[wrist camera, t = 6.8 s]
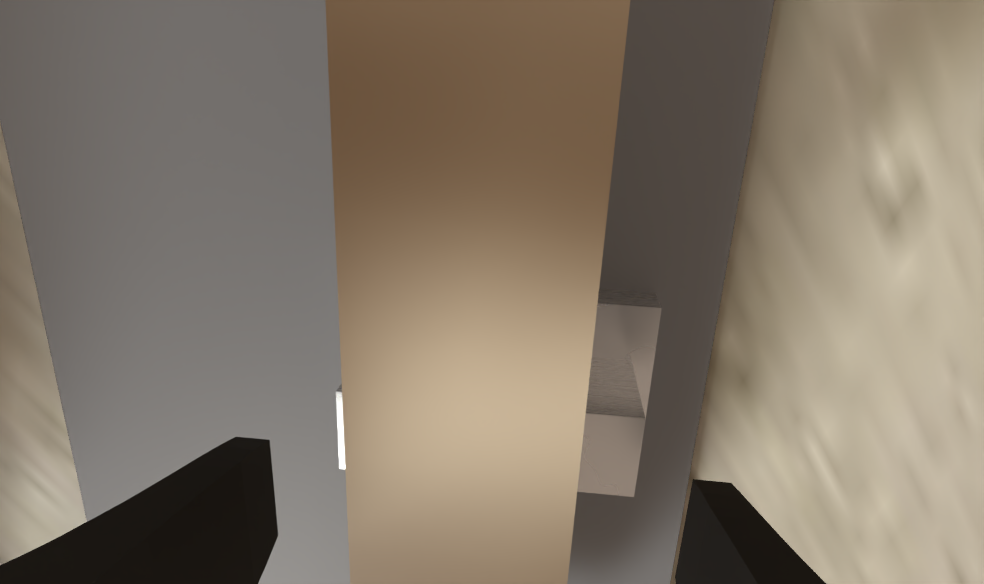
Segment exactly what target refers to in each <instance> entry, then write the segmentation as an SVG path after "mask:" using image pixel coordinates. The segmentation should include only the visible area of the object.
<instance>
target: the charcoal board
mask: <svg viewBox="0 0 984 584" xmlns="http://www.w3.org/2000/svg"><path fill="white" fill-rule="evenodd" d="M773 5H774V0H630V8H629V17H628V26H627V36H626V45H625V54H624V63H623V73H622V82H621V91H620V100H619V110H618V119H617V128H616V137H615V147H614V156H613V165H612V174H611V183H610V193H609V202H608V211H607V220H606V230H605V239H604V248H603V257H602V267H601V276H600V285H599V288H600V289H614V290H628V291H641V292H655V293H656V296H657V298H658V301H659V303H660V305H661V308H662V309H661V316H660V323H659V330H658V337H657V344H656V351H655V358H654V364H653V371H652V378H651V385H650V392H649V399H648V406H647V413H646V420H645V426H644V433H643V440H642V447H641V454H640V461H639V468H638V475H637V480H636V487H635V494H634V497H628V496H617V495H607V494H597V493H586V492H577V498H576V507H575V516H574V526H573V535H572V544H571V553H570V563H569V572H568V581H567V584H670V581H671V575H672V570H673V564H674V558H675V553H676V547H677V542H678V536H679V530H680V525H681V519H682V514H683V508H684V503H685V497H686V491H687V486H688V480H689V475H690V469H691V463H692V458H693V452H694V447H695V441H696V435H697V430H698V424H699V419H700V413H701V408H702V402H703V396H704V391H705V385H706V380H707V374H708V368H709V363H710V357H711V352H712V346H713V340H714V335H715V329H716V324H717V318H718V313H719V307H720V301H721V296H722V290H723V285H724V279H725V273H726V268H727V262H728V257H729V251H730V245H731V240H732V234H733V229H734V223H735V218H736V212H737V206H738V201H739V195H740V190H741V184H742V178H743V173H744V167H745V162H746V156H747V150H748V145H749V139H750V134H751V128H752V123H753V117H754V111H755V106H756V100H757V95H758V89H759V83H760V78H761V72H762V67H763V61H764V55H765V50H766V44H767V39H768V33H769V28H770V22H771V16H772V11H773ZM0 122H1V127H2V131H3V136H4V140H5V145H6V150H7V154H8V159H9V163H10V168H11V173H12V177H13V182H14V186H15V191H16V196H17V200H18V205H19V210H20V214H21V219H22V223H23V228H24V233H25V237H26V242H27V246H28V251H29V256H30V260H31V265H32V269H33V274H34V279H35V283H36V288H37V293H38V297H39V302H40V306H41V311H42V316H43V320H44V325H45V329H46V334H47V339H48V343H49V348H50V353H51V357H52V362H53V366H54V371H55V376H56V380H57V385H58V389H59V394H60V399H61V403H62V408H63V412H64V417H65V422H66V426H67V431H68V436H69V440H70V445H71V449H72V454H73V459H74V463H75V468H76V472H77V477H78V482H79V486H80V491H81V495H82V500H83V505H84V509H85V514H86V519H87V522H88V521H89V520H91V519H93V518H95V517H97V516H99V515H100V514H102V513H104V512H106V511H108V510H110V509H112V508H113V507H115V506H117V505H119V504H121V503H123V502H124V501H126V500H128V499H129V498H131V497H133V496H135V495H136V494H138V493H140V492H141V491H143V490H145V489H146V488H148V487H150V486H151V485H153V484H155V483H157V482H158V481H160V480H162V479H163V478H165V477H167V476H168V475H170V474H172V473H173V472H175V471H177V470H178V469H180V468H182V467H183V466H185V465H187V464H188V463H190V462H192V461H193V460H195V459H197V458H198V457H200V456H202V455H204V454H205V453H207V452H209V451H210V450H212V449H214V448H216V447H217V446H219V445H221V444H223V443H225V442H226V441H228V440H230V439H232V438H234V437H245V438H256V439H267V440H270V449H271V460H272V471H273V482H274V493H275V504H276V515H277V526H278V537H277V540H276V542H275V545H274V547H273V550H272V552H271V555H270V557H269V560H268V562H267V565H266V567H265V569H264V571H263V574H262V576H261V578H260V580H259V583H258V584H350V566H349V543H348V519H347V496H346V472H345V469H339V449H338V427H337V406H336V391H337V389H338V388H339V386H340V385H341V383H342V379H341V355H340V332H339V308H338V285H337V261H336V238H335V215H334V191H333V168H332V144H331V121H330V97H329V74H328V51H327V27H326V4H325V0H0Z"/></svg>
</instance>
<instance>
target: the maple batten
mask: <svg viewBox="0 0 984 584" xmlns="http://www.w3.org/2000/svg"><path fill="white" fill-rule="evenodd" d="M325 4H326V27H327V51H328V74H329V97H330V121H331V144H332V168H333V191H334V215H335V238H336V261H337V285H338V308H339V332H340V355H341V379H342V402H343V425H344V449H345V472H346V496H347V519H348V543H349V566H350V584H567V581H568V572H569V563H570V553H571V544H572V535H573V526H574V516H575V507H576V498H577V489H578V479H579V470H580V461H581V452H582V442H583V433H584V424H585V415H586V405H587V396H588V387H589V378H590V368H591V359H592V350H593V341H594V331H595V322H596V313H597V304H598V294H599V285H600V276H601V267H602V257H603V248H604V239H605V230H606V220H607V211H608V202H609V193H610V183H611V174H612V165H613V156H614V147H615V137H616V128H617V119H618V110H619V100H620V91H621V82H622V73H623V63H624V54H625V45H626V36H627V26H628V17H629V8H630V0H325Z"/></svg>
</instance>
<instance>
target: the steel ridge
mask: <svg viewBox="0 0 984 584" xmlns="http://www.w3.org/2000/svg"><path fill="white" fill-rule="evenodd" d="M661 309H662V308H661V305H660V303H659V301H658V298H657V296H656V293H655V292H641V291H628V290H614V289H600V288H599V294H598V304H597V313H596V322H595V331H594V341H593V350H592V359H591V368H590V378H589V387H588V396H587V405H586V415H585V424H584V433H583V442H582V452H581V461H580V470H579V479H578V489H577V492H586V493H597V494H607V495H617V496H628V497H634V494H635V487H636V480H637V475H638V468H639V461H640V454H641V447H642V440H643V433H644V426H645V420H646V413H647V406H648V399H649V392H650V385H651V378H652V371H653V364H654V358H655V351H656V344H657V337H658V330H659V323H660V316H661ZM336 406H337V427H338V449H339V469H345V449H344V425H343V402H342V383H341V385H340V386H339V388H338V389H337V391H336Z"/></svg>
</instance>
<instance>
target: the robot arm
mask: <svg viewBox="0 0 984 584" xmlns="http://www.w3.org/2000/svg"><path fill="white" fill-rule="evenodd" d="M277 537H278V526H277V515H276V504H275V493H274V482H273V471H272V460H271V449H270V440H267V439H256V438H245V437H234V438H232V439H230V440H228V441H226V442H225V443H223V444H221V445H219V446H217V447H216V448H214V449H212V450H210V451H209V452H207V453H205V454H204V455H202V456H200V457H198V458H197V459H195V460H193V461H192V462H190V463H188V464H187V465H185V466H183V467H182V468H180V469H178V470H177V471H175V472H173V473H172V474H170V475H168V476H167V477H165V478H163V479H162V480H160V481H158V482H157V483H155V484H153V485H151V486H150V487H148V488H146V489H145V490H143V491H141V492H140V493H138V494H136V495H135V496H133V497H131V498H129V499H128V500H126V501H124V502H123V503H121V504H119V505H117V506H115V507H113V508H112V509H110V510H108V511H106V512H104V513H102V514H100V515H99V516H97V517H95V518H93V519H91V520H89V521H88V522H86V523H84V524H82V525H80V526H78V527H77V528H75V529H73V530H71V531H69V532H67V533H66V534H64V535H62V536H60V537H58V538H56V539H54V540H52V541H50V542H48V543H46V544H44V545H42V546H40V547H38V548H36V549H34V550H32V551H30V552H28V553H26V554H24V555H22V556H20V557H18V558H15V559H13V560H11V561H9V562H7V563H5V564H2V565H0V584H258V583H259V580H260V578H261V576H262V574H263V571H264V569H265V567H266V565H267V562H268V560H269V557H270V555H271V552H272V550H273V547H274V545H275V542H276V540H277ZM675 579H676V584H826V583H825V582H824V581H823V580H822V579H821V578H820V577H819V576H818V575H817V574H816V573H815V572H814V571H813V570H812V569H811V568H810V567H809V566H808V565H807V564H806V563H805V562H804V561H803V560H802V559H801V558H800V557H799V556H798V555H797V554H796V552H795V551H794V550H793V549H792V548H791V547H790V546H789V545H788V544H787V543H786V542H785V541H784V540H783V539H782V538H781V537H780V535H779V534H778V533H777V532H776V531H775V530H774V529H773V528H772V527H771V526H770V525H769V524H768V522H767V521H766V520H765V519H764V518H763V517H762V516H761V515H760V514H759V513H758V512H757V510H756V509H755V508H754V507H753V506H752V505H751V504H750V503H749V502H748V501H747V499H746V498H745V497H744V496H743V495H742V494H741V493H740V492H739V491H738V490H737V489H736V488H735V487H734V486H733V485H732V484H731V483H726V482H715V481H704V480H694V479H693V482H692V488H691V493H690V499H689V504H688V510H687V515H686V521H685V526H684V532H683V537H682V543H681V548H680V554H679V559H678V565H677V570H676V576H675Z"/></svg>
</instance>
